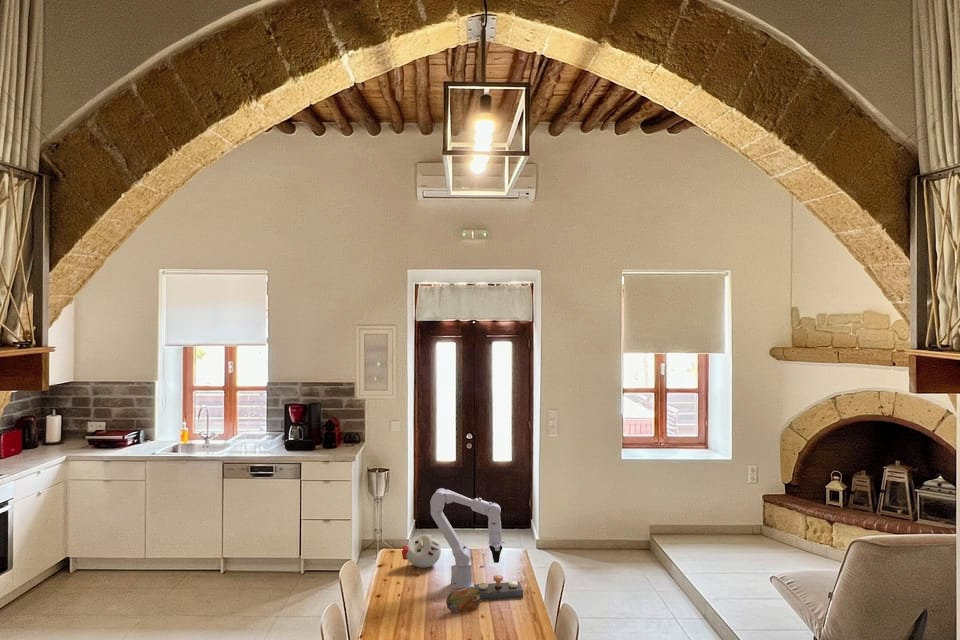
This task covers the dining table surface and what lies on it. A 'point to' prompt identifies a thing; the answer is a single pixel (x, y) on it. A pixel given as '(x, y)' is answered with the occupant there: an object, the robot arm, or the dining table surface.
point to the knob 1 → (483, 586)
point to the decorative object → (422, 551)
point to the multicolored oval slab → (463, 600)
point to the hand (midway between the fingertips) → (496, 562)
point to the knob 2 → (513, 584)
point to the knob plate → (500, 591)
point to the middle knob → (498, 580)
